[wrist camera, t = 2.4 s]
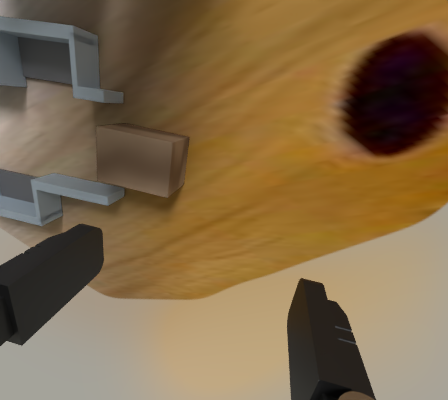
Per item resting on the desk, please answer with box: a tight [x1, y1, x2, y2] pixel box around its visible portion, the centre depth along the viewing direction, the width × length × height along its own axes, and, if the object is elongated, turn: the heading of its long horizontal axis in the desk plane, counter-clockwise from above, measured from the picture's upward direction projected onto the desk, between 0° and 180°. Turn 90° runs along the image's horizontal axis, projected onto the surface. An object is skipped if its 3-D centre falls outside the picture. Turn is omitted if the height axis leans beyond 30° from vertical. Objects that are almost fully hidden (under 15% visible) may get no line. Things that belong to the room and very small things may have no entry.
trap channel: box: [0, 16, 124, 226], centre depth 26 cm, size 20×22×3 cm
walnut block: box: [96, 123, 189, 198], centre depth 24 cm, size 5×7×4 cm
